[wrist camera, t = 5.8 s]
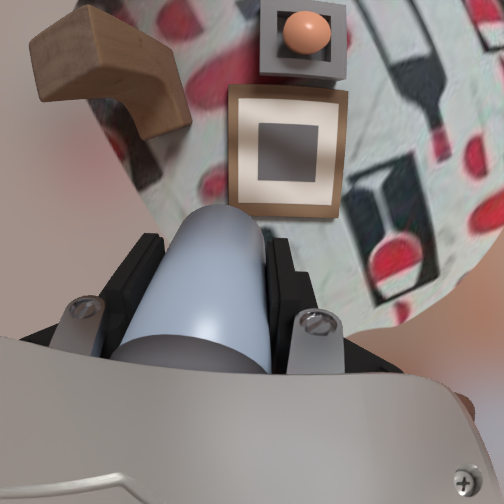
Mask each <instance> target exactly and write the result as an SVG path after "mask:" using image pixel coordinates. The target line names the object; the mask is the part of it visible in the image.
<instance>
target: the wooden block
mask: <svg viewBox="0 0 504 504" xmlns="http://www.w3.org/2000/svg"><path fill="white" fill-rule="evenodd" d="M29 50H30V56H31V62H32V67H33V72H34V77H35V81H36V86H37V91H38V95H39V99H40V100H41V102H52V101H63V100H76V99H94V98H113V99H115V100H118V101H120V102H122V103H123V104H124V106H125V107H126V108H127V110H128V111H129V112H130V114H131V115H132V117H133V120H134V122H135V125H136V127H137V130H138V133H139V135H140V138H141V139H142V140H148V139H151V138H154V137H157V136H159V135H162V134H165V133H168V132H171V131H174V130H177V129H180V128H183V127H186V126H189V125H191V124H192V118H191V114H190V111H189V108H188V104H187V101H186V97H185V94H184V90H183V87H182V84H181V80H180V77H179V73H178V70H177V66H176V63H175V59H174V56H173V52H172V50H171V49H170V48H168V47H167V46H165V45H164V44H162V43H160V42H159V41H157V40H155V39H153V38H152V37H150V36H148V35H147V34H145V33H143V32H141V31H140V30H138V29H136V28H134V27H132V26H131V25H129V24H127V23H125V22H123V21H121V20H119V19H118V18H116V17H114V16H112V15H110V14H108V13H106V12H104V11H102V10H100V9H98V8H96V7H94V6H92V5H84V6H81V7H80V8H78V9H76V10H75V11H73V12H71V13H70V14H68V15H66V16H65V17H63V18H62V19H60V20H59V21H57V22H56V23H54V24H53V25H51V26H50V27H48V28H47V29H45V30H44V31H43V32H41V33H40V34H38V35H37V36H36V37H34V38H33V39H32V40H31V41H30V43H29Z"/></svg>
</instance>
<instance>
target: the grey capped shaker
mask: <svg viewBox="0 0 504 504" xmlns="http://www.w3.org/2000/svg"><path fill="white" fill-rule="evenodd" d="M109 359H110V360H116V361H122V362H129V363H136V364H143V365H150V366H159V367H167V368H177V369H187V370H198V371H211V372H227V373H248V374H272V366H271V347H270V335H269V318H268V300H267V282H266V261H265V245H264V238H263V234H262V232H261V230H260V227H259V226H258V224H257V223H256V222H255V221H254V219H253V218H252V217H251V216H249V215H248V214H247V213H245V212H244V211H242V210H240V209H238V208H236V207H233V206H229V205H222V204H214V205H208V206H204V207H201V208H199V209H197V210H195V211H194V212H192V213H191V214H190V215H188V216H187V217H186V218H185V220H184V221H183V222H182V224H181V225H180V227H179V229H178V231H177V233H176V235H175V236H174V238H173V240H172V242H171V244H170V246H169V248H168V249H167V252H166V253H165V255H164V257H163V259H162V261H161V262H160V264H159V266H158V268H157V270H156V272H155V274H154V276H153V278H152V280H151V282H150V284H149V286H148V288H147V290H146V292H145V294H144V296H143V298H142V300H141V302H140V304H139V306H138V308H137V310H136V312H135V314H134V316H133V318H132V320H131V322H130V325H129V327H128V329H127V331H126V333H125V335H124V337H123V340H122V342H121V344H120V346H119V347H118V348H117V349H116V350H115V351H114V352H113V353H112V355H111V357H110V358H109Z"/></svg>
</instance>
